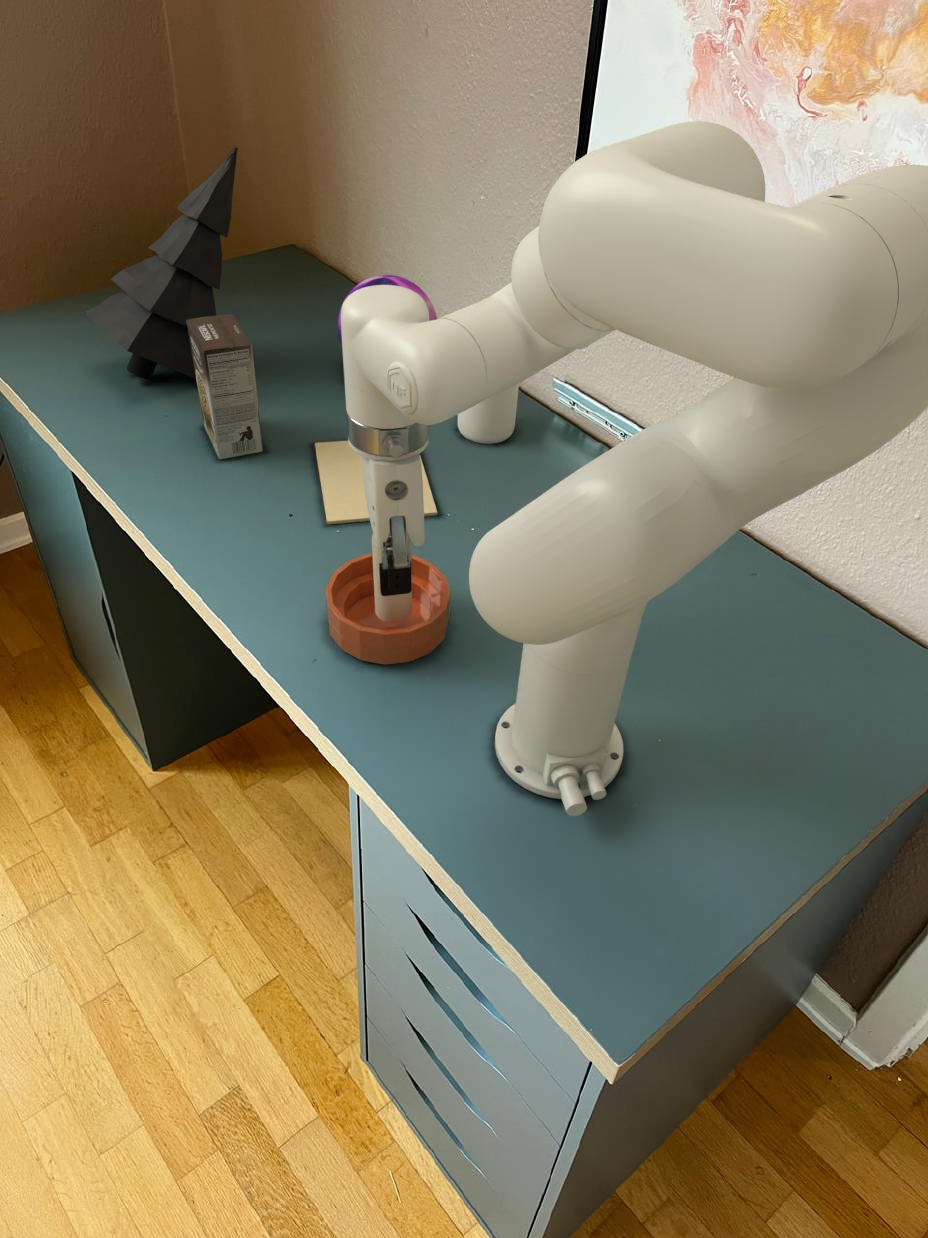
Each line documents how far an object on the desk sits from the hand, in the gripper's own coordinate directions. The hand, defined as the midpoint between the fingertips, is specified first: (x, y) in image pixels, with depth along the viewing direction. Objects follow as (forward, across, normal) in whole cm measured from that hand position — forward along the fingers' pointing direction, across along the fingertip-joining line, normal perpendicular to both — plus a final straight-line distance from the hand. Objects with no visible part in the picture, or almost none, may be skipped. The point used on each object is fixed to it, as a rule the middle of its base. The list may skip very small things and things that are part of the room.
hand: (392, 577), depth 97 cm
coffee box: (+6, +41, +16) cm, 44 cm away
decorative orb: (+6, +57, -8) cm, 58 cm away
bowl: (+7, +1, 0) cm, 7 cm away
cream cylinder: (+5, 0, 0) cm, 5 cm away
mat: (+7, +29, -2) cm, 30 cm away
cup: (+7, +41, -18) cm, 45 cm away
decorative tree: (+6, +63, +22) cm, 67 cm away
